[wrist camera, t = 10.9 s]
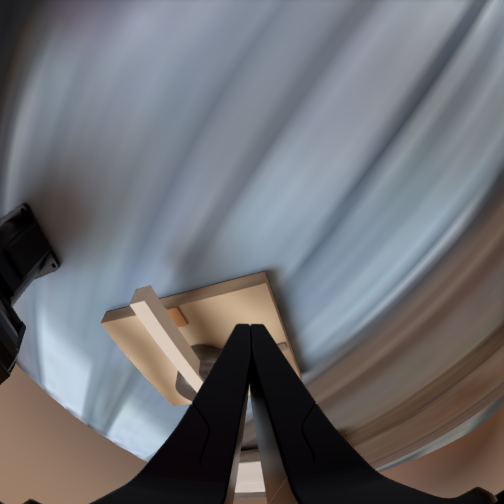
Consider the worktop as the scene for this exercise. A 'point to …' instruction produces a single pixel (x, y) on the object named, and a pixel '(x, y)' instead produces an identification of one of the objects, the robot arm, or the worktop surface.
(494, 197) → the worktop surface
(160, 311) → the wooden latch lever
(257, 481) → the square plate
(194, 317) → the board
